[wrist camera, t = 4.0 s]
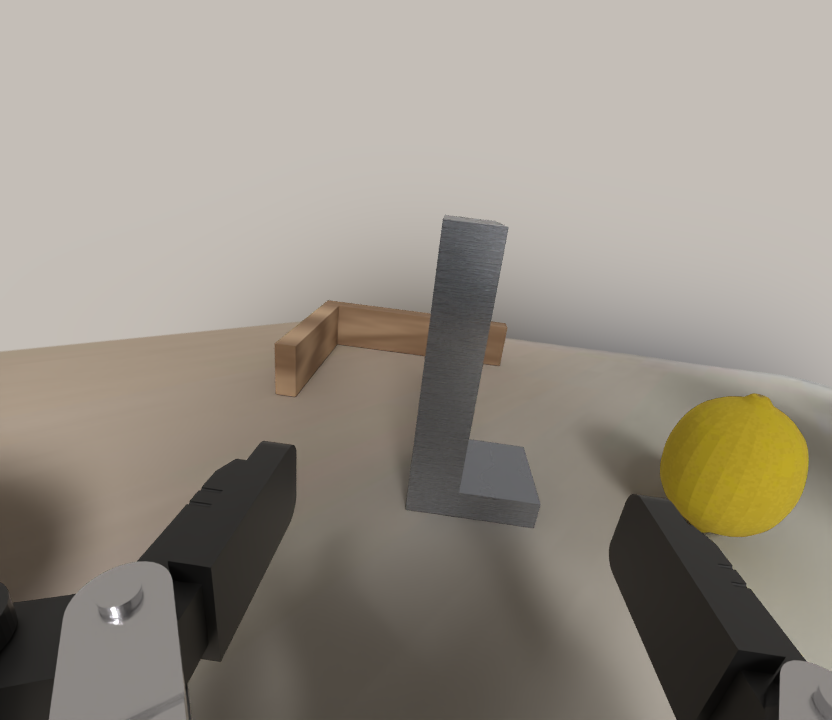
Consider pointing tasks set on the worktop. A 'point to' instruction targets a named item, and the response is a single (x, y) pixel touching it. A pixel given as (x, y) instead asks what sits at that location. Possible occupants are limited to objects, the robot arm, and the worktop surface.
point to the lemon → (734, 466)
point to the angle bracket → (465, 390)
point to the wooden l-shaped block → (357, 339)
